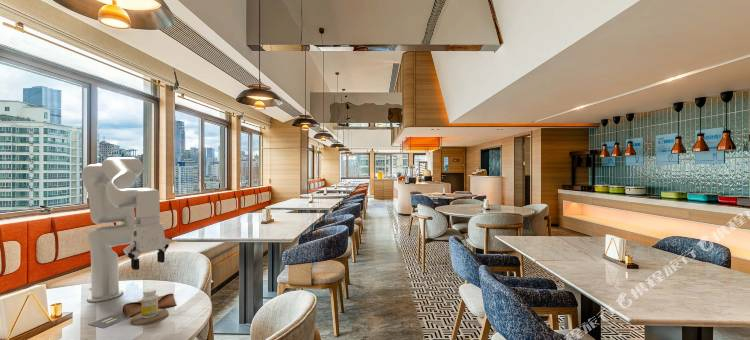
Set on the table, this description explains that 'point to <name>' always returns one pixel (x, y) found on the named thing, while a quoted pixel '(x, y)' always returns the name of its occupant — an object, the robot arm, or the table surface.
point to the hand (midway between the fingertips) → (148, 265)
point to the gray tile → (108, 320)
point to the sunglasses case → (135, 307)
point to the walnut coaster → (142, 321)
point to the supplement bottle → (149, 303)
